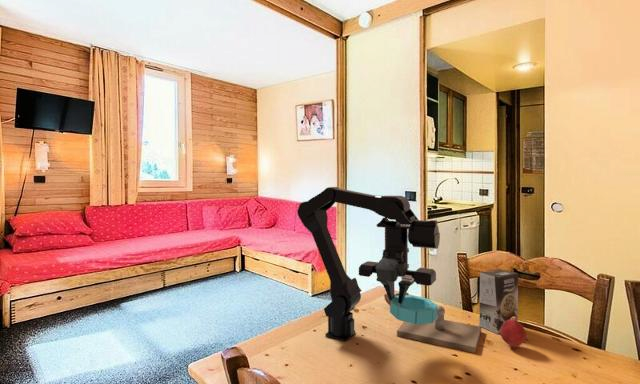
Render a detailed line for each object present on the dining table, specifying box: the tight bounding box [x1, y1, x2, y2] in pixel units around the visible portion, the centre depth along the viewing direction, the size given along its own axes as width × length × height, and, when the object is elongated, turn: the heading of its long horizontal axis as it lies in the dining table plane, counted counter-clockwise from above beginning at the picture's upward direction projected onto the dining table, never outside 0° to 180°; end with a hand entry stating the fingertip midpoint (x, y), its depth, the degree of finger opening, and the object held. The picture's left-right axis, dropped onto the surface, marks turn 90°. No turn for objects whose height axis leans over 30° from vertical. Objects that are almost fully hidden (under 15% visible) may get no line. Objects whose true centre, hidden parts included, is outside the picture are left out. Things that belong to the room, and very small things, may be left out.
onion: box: [499, 317, 527, 349], centre depth 90 cm, size 6×6×8 cm
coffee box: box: [478, 268, 519, 335], centre depth 102 cm, size 9×6×16 cm
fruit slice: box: [383, 292, 410, 306], centre depth 119 cm, size 8×7×5 cm
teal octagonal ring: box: [389, 294, 438, 324], centre depth 88 cm, size 11×11×3 cm
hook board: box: [396, 305, 482, 354], centre depth 98 cm, size 20×14×8 cm
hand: (396, 305), depth 90 cm, fingers closed on teal octagonal ring, 2 cm apart
